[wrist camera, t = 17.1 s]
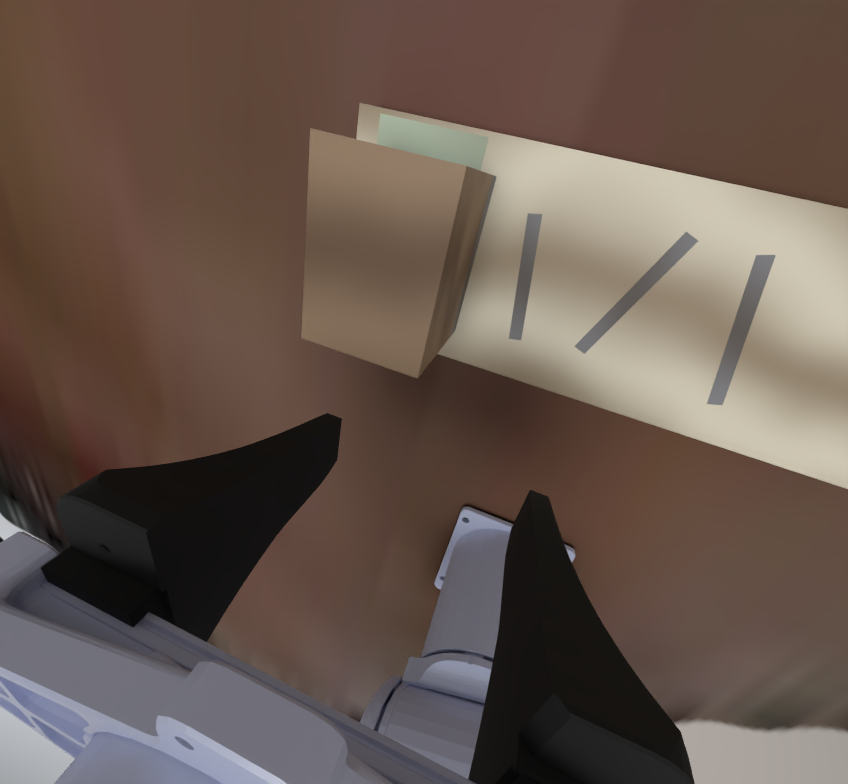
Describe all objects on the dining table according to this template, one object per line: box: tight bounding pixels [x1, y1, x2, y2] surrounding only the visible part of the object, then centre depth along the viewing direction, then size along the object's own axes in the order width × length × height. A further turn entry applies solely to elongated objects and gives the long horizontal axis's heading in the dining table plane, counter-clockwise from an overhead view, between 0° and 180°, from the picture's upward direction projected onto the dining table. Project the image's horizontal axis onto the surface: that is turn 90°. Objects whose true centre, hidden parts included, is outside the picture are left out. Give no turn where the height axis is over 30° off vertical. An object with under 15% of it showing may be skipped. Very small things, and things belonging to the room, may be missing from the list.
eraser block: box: [301, 128, 496, 379], centre depth 15 cm, size 7×5×6 cm
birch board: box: [356, 103, 848, 489], centre depth 17 cm, size 10×28×2 cm, turn 78°
